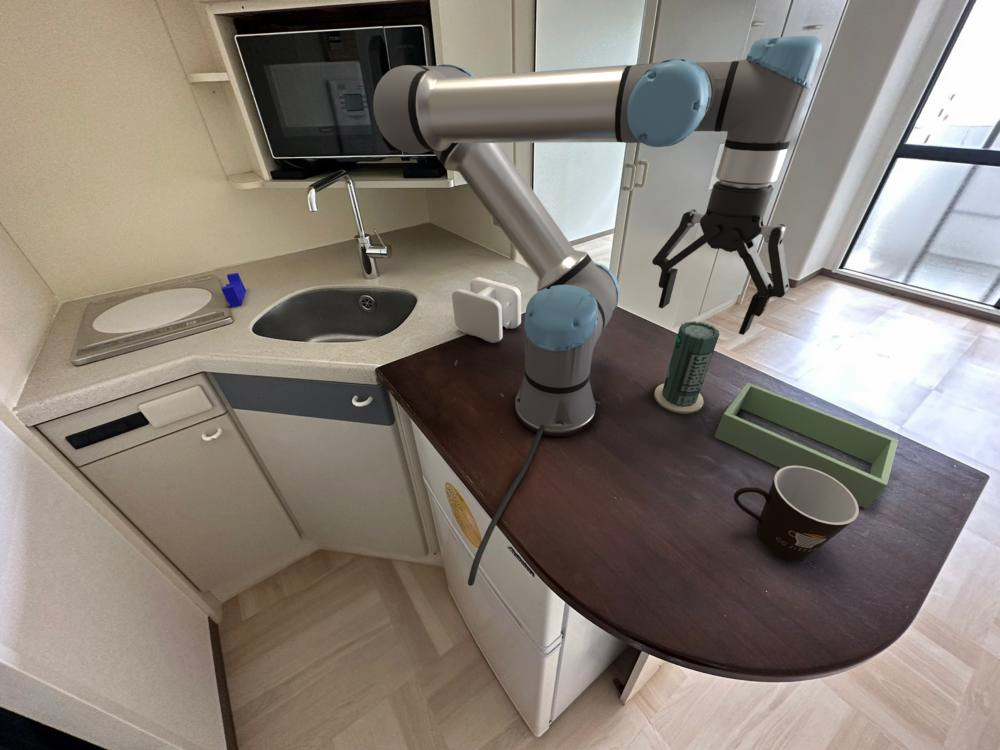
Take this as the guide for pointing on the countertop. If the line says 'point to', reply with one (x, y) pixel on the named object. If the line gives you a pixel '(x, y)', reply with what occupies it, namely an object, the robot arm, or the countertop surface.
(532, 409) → the robot arm
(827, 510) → the coffee mug
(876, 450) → the box
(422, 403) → the countertop surface
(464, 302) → the cable organizer
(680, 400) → the can
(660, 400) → the coaster
